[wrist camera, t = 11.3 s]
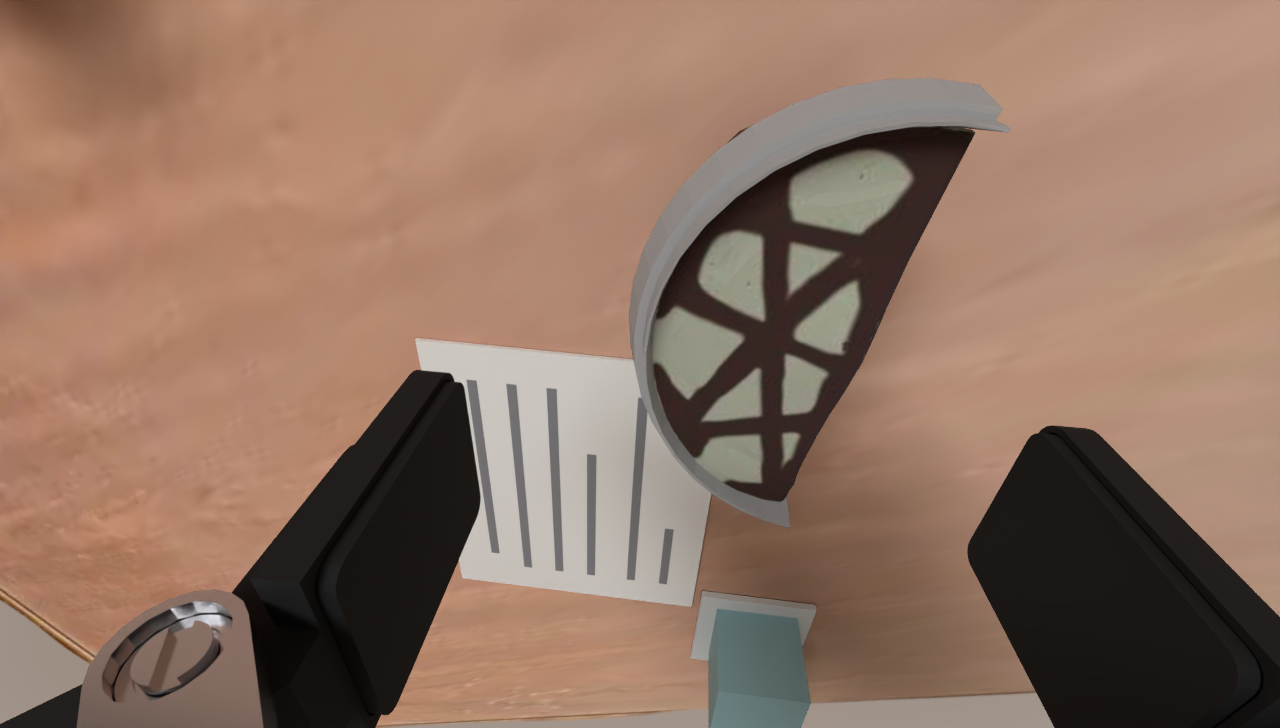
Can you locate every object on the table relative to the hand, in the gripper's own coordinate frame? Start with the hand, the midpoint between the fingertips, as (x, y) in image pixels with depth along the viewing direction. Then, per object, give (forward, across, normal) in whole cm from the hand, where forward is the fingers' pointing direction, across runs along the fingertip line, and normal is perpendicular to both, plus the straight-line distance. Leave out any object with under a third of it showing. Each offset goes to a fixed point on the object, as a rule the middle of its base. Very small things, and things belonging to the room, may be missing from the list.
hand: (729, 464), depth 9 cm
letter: (+14, +6, +16) cm, 22 cm away
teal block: (+14, -6, +27) cm, 31 cm away
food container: (+14, -1, 0) cm, 14 cm away
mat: (+14, -6, +27) cm, 31 cm away
